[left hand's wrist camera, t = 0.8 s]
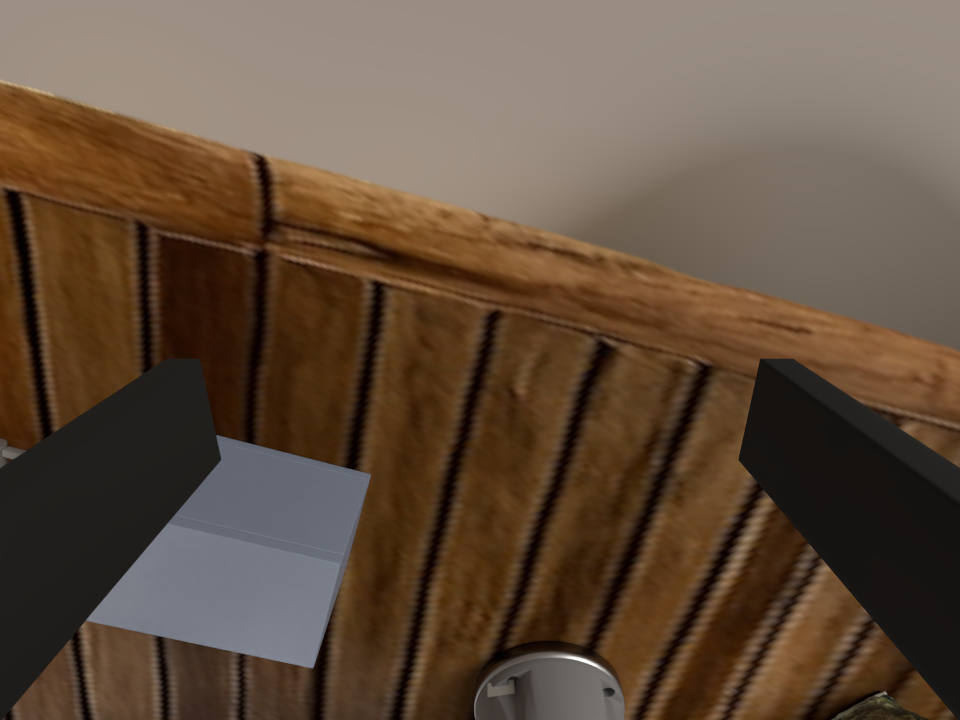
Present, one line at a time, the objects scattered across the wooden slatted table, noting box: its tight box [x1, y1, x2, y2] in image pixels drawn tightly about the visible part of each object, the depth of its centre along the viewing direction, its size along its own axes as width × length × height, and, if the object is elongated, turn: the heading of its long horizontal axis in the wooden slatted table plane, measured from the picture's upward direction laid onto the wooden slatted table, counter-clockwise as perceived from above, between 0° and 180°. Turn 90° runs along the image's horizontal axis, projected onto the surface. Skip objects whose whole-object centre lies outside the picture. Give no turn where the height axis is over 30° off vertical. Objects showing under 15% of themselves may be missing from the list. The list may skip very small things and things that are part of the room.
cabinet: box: [86, 435, 371, 668], centre depth 40 cm, size 19×10×10 cm, turn 73°
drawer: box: [0, 439, 26, 468], centre depth 39 cm, size 23×9×8 cm, turn 73°
